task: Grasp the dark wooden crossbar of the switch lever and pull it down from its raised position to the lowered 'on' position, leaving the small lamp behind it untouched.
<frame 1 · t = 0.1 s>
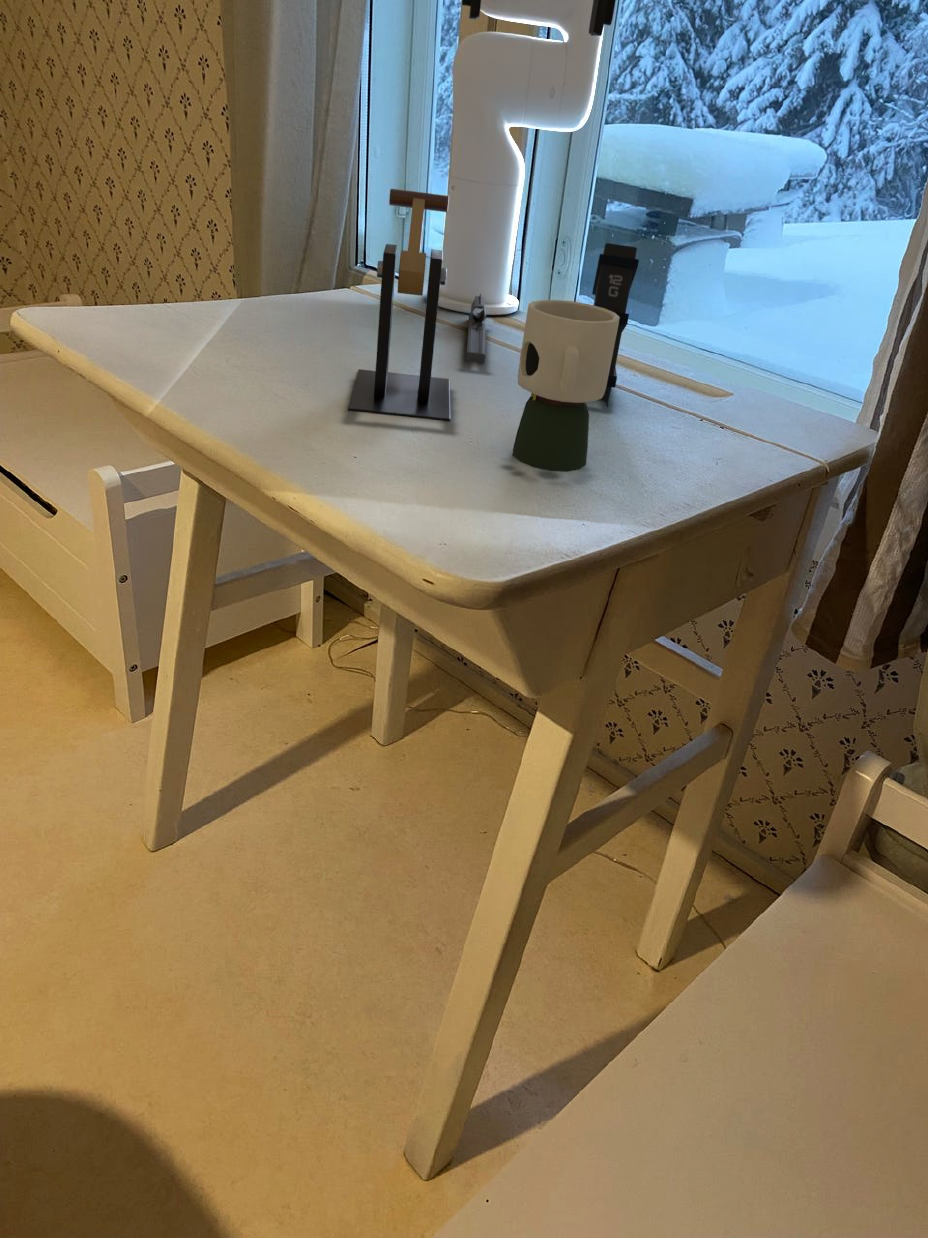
hand: (534, 26, 73), 31 cm above the table, tool pointing down, fingers open, 9 cm apart
character mug: (546, 471, 78), on the table
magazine: (592, 392, 99), on the table
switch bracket: (400, 405, 87), on the table
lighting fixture: (477, 351, 108), on the table
switch lever: (415, 237, 84), point 14 cm above the table, hinge at 25.0°
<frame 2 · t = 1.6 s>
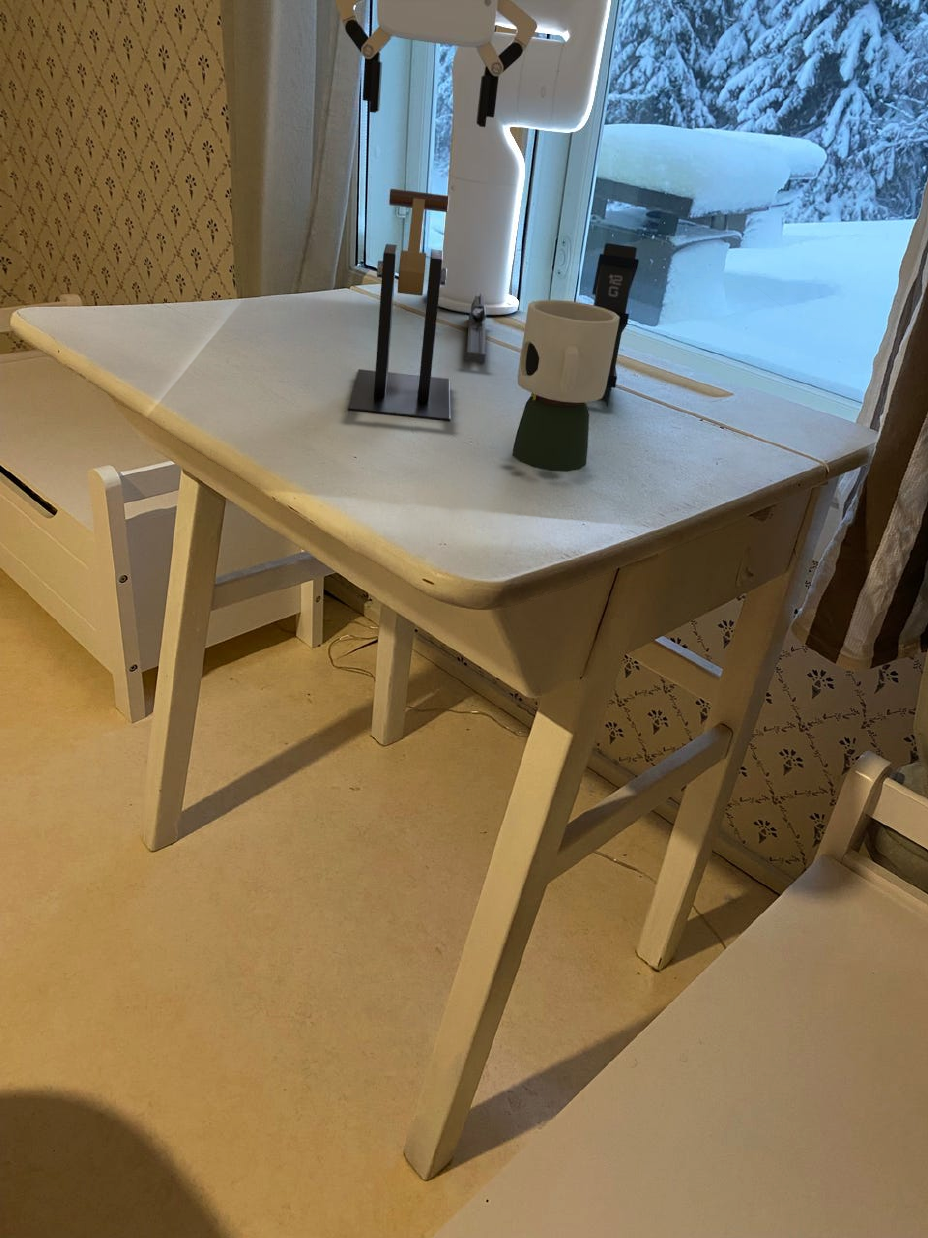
hand: (427, 118, 83), 24 cm above the table, tool pointing down, fingers open, 9 cm apart
nothing on the table moved.
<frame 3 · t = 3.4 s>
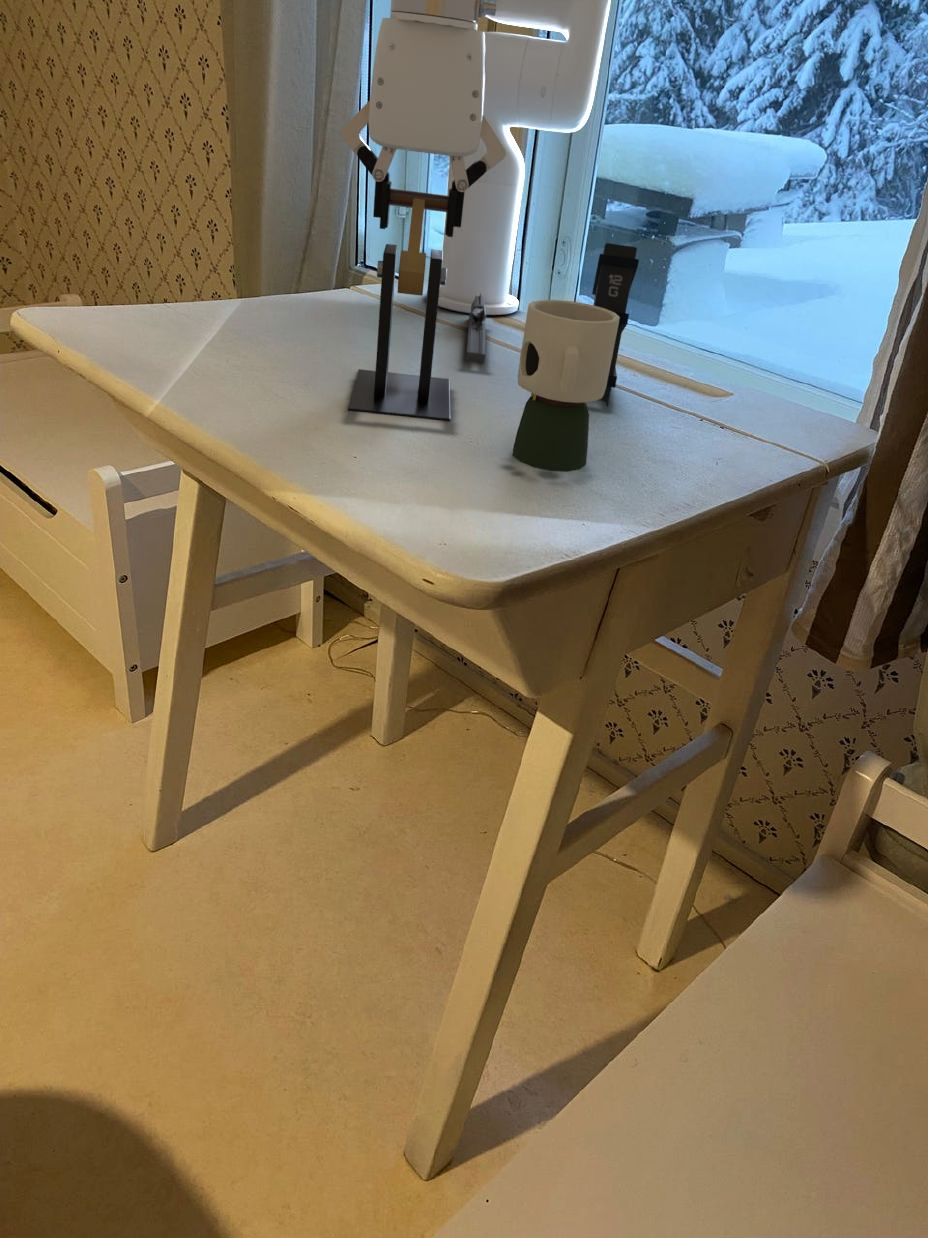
hand: (416, 228, 89), 14 cm above the table, tool pointing down, fingers closed on switch lever, 5 cm apart
switch lever: (415, 237, 84), point 14 cm above the table, hinge at 25.0°, touching gripper
everything else where it was.
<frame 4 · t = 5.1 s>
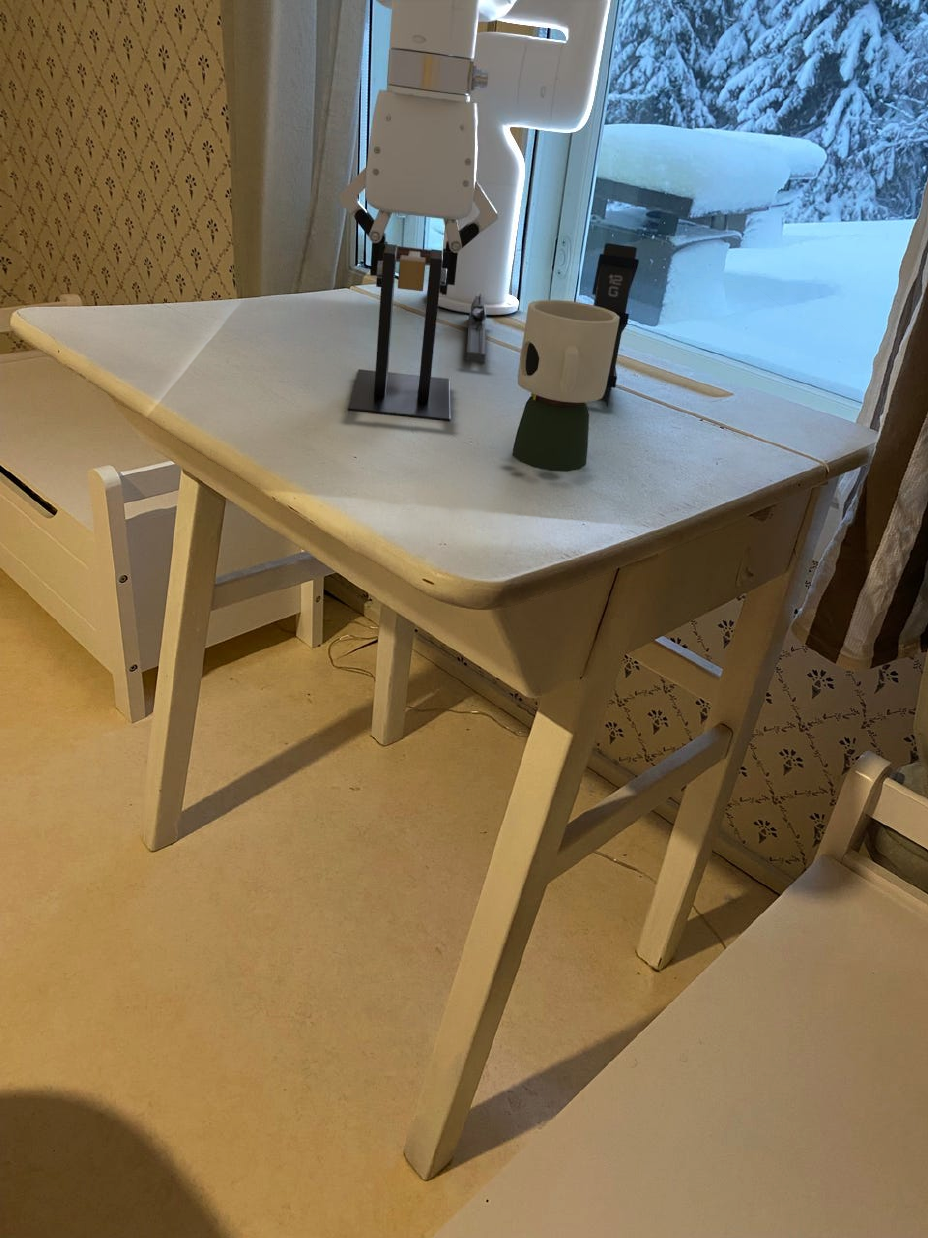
hand: (411, 286, 92), 9 cm above the table, tool pointing down, fingers closed on switch lever, 5 cm apart
switch lever: (413, 264, 86), point 12 cm above the table, hinge at -2.6°, touching gripper
everything else where it was.
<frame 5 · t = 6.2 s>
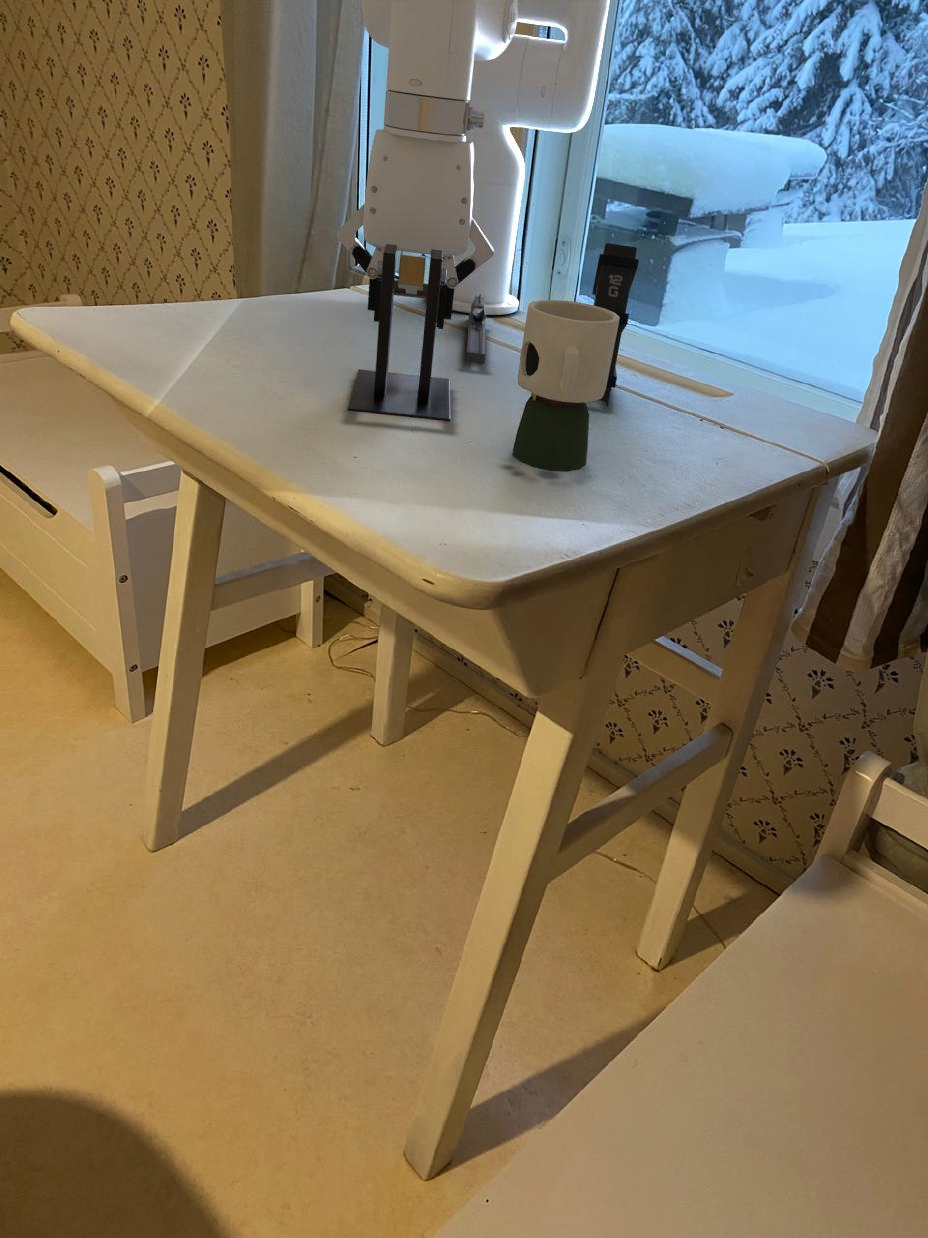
hand: (409, 320, 93), 6 cm above the table, tool pointing down, fingers closed on switch lever, 5 cm apart
switch lever: (411, 281, 86), point 10 cm above the table, hinge at -18.8°, touching gripper
everything else where it was.
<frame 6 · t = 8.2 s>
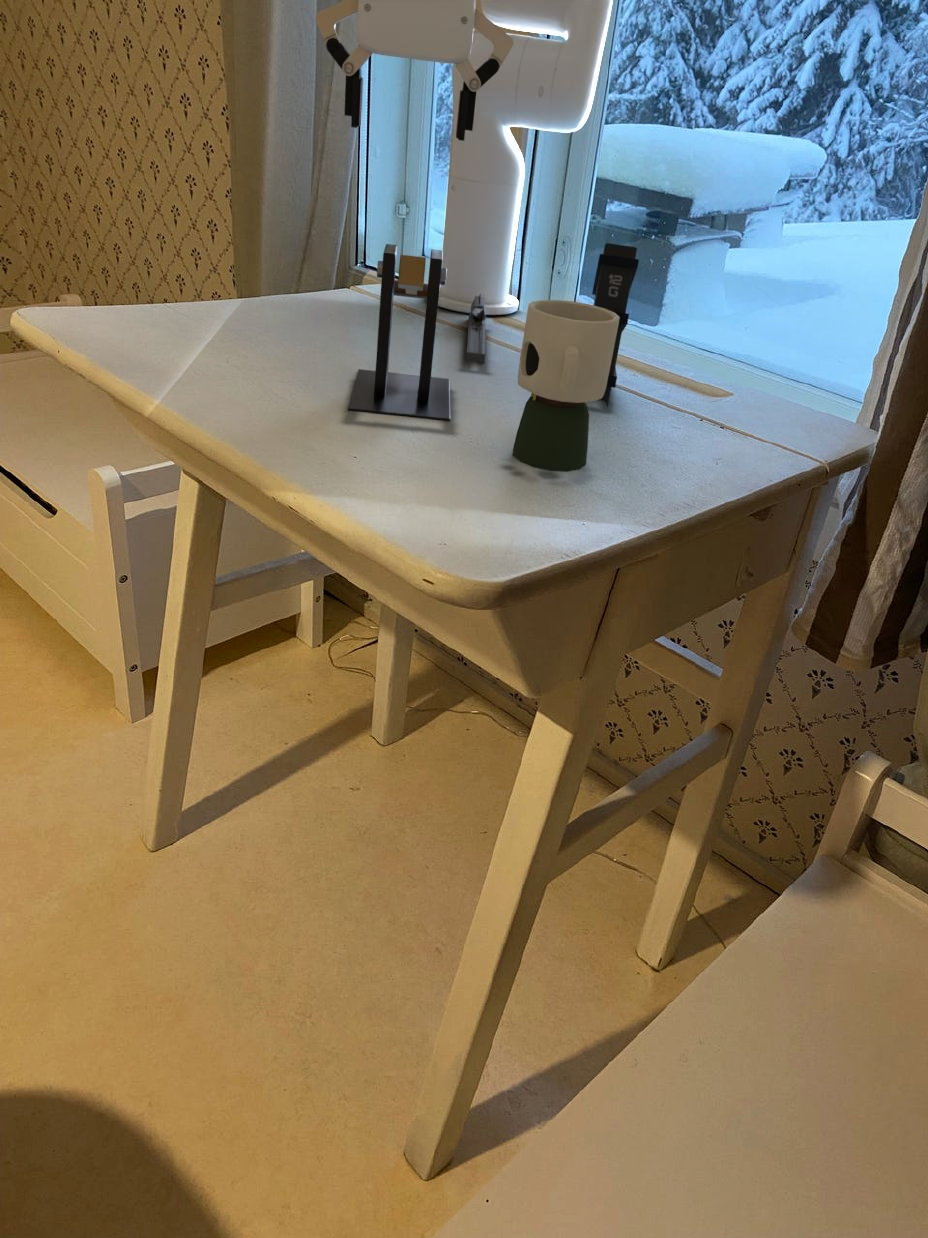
hand: (408, 132, 86), 22 cm above the table, tool pointing down, fingers open, 9 cm apart
switch lever: (411, 281, 86), point 10 cm above the table, hinge at -18.9°
everything else where it was.
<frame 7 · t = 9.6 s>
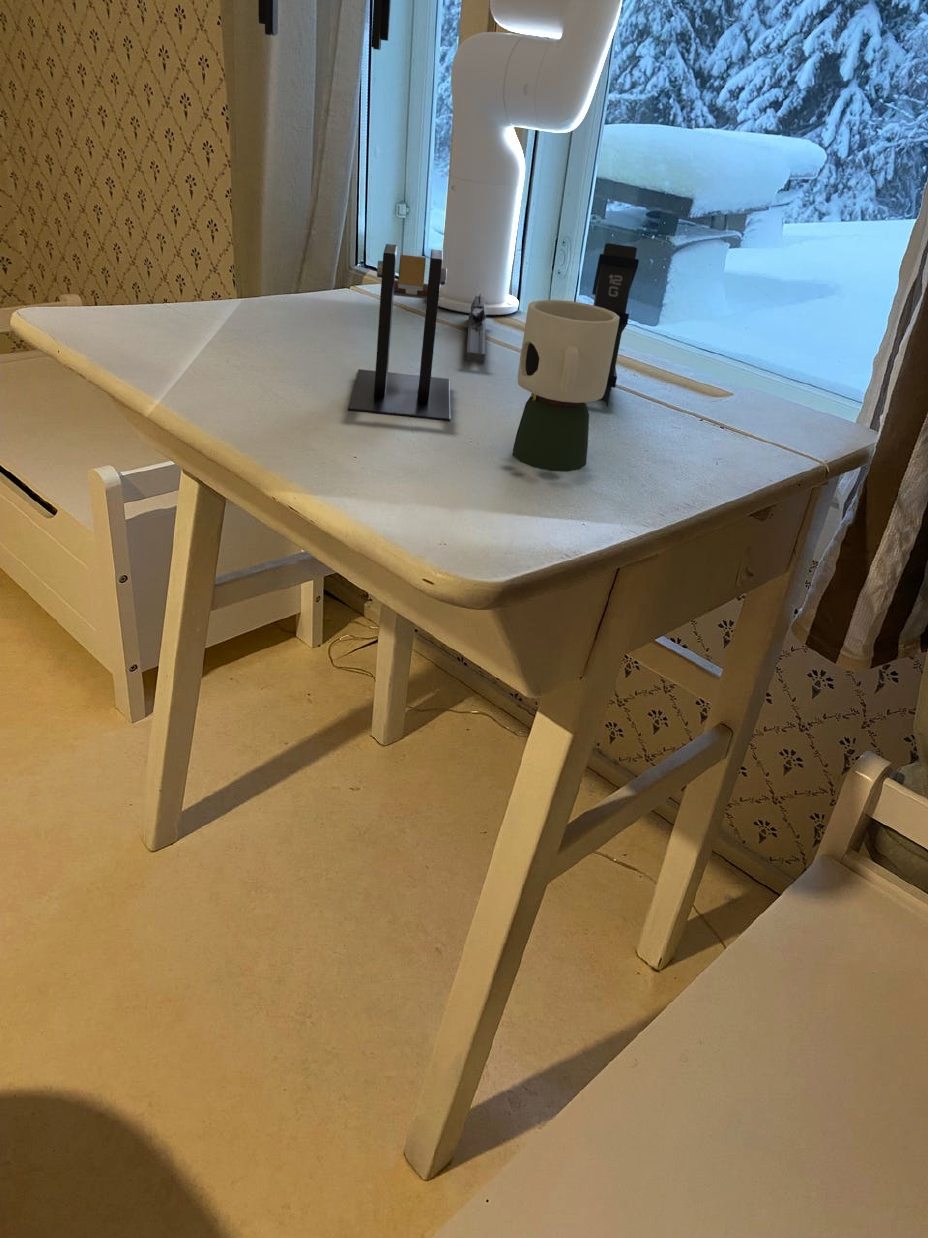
hand: (323, 41, 86), 28 cm above the table, tool pointing down, fingers open, 9 cm apart
nothing on the table moved.
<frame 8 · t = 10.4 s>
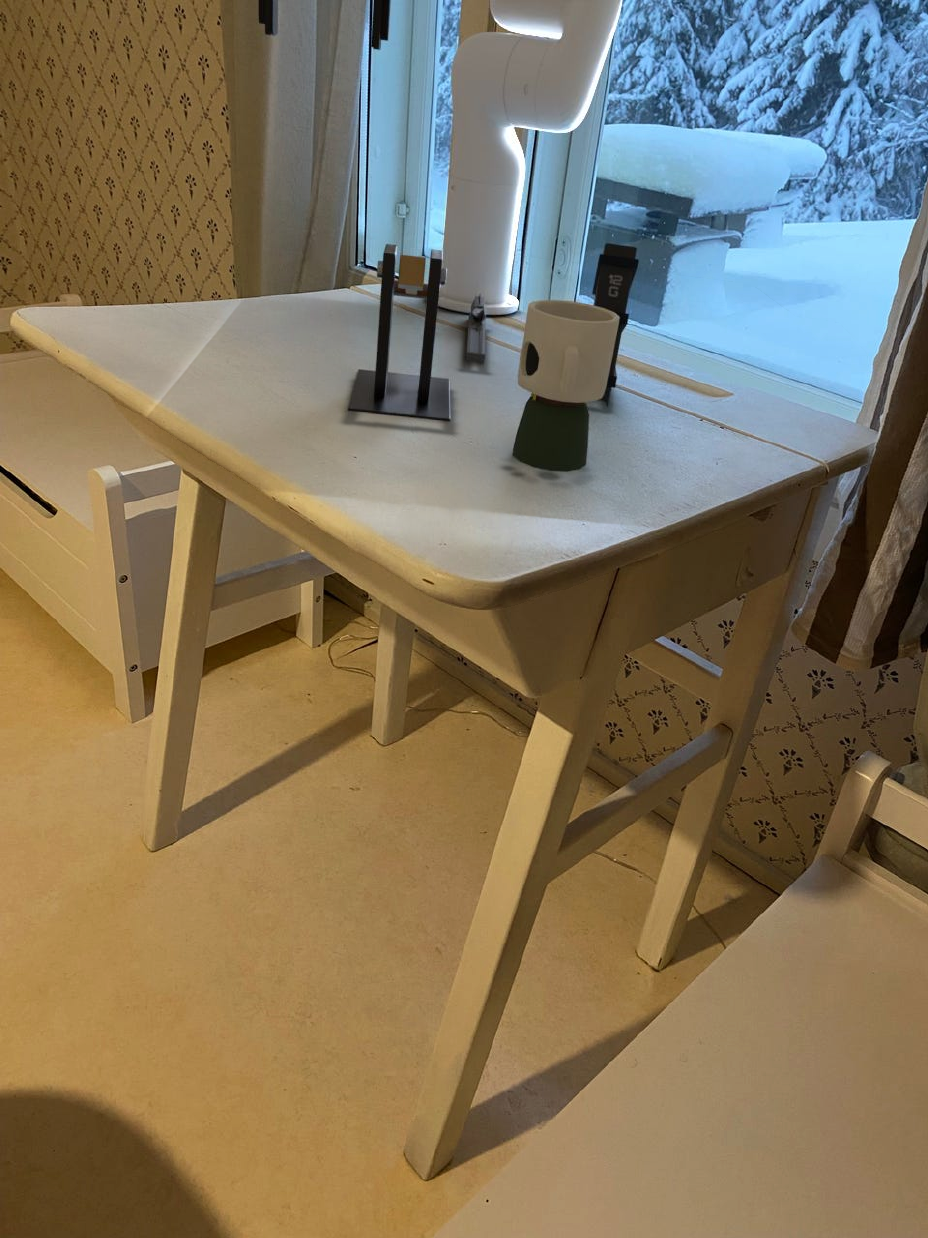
hand: (323, 41, 86), 28 cm above the table, tool pointing down, fingers open, 9 cm apart
nothing on the table moved.
at the end: switch lever at -19° (first picture: +25°); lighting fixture moved 0.2 cm from its start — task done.
